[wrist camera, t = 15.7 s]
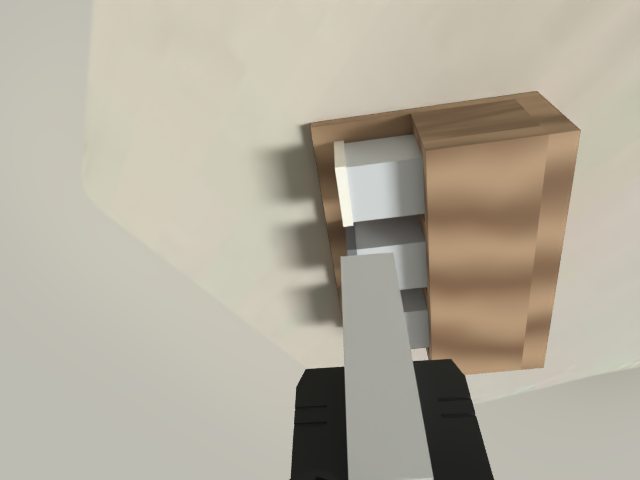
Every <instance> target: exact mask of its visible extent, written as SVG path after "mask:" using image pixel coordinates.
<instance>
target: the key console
mask: <svg viewBox="0 0 640 480" xmlns="http://www.w3.org/2000/svg"><path fill="white" fill-rule="evenodd" d="M310 129H311V134H312V140H313V146H314V152H315V158H316V164H317V170H318V176H319V182H320V188H321V194H322V200H323V206H324V212H325V218H326V224H327V230H328V236H329V242H330V248H331V254H332V260H333V266H334V272H335V278H336V283H337V289H338V295H339V301H340V307H341V313H342V319H343V312H342V284H341V256H348V255H347V246H346V230H345V227H343V221H342V214H341V207H340V200H339V193H338V186H337V180H336V173H335V160H334V141H341V140H344V143H351V142H358V141H365V140H373V139H380V138H388V137H395V136H402V135H410V134H414V136H415V138H416V141H417V144H418V146H419V149H420V151H421V154H422V157H423V179H424V208H425V214H417V216H418V219H419V222H420V226H421V229H422V233H423V236H424V239H425V243H426V266H427V287H422V291H423V295H424V299H425V303H426V307H427V311H428V325H429V347H426V350H427V355H428V359H429V360H440V359H452V360H453V362H454V363H455V364H456V365H457V367H458V368H459V369H460V370H461V372H462V373H463V374H464V375H468V374H479V373H490V372H501V371H512V370H523V369H534V368H544V361H545V355H546V349H547V342H548V336H549V330H550V323H551V317H552V311H553V304H554V298H555V291H556V285H557V279H558V272H559V266H560V260H561V253H562V247H563V240H564V234H565V228H566V221H567V215H568V209H569V202H570V196H571V190H572V183H573V177H574V170H575V164H576V158H577V151H578V145H579V139H580V132H581V130H580V129H579V128H578V127H577V126H575V125H574V124H573V123H572V122H571V121H570V120H569V119H568V118H567V117H565V116H564V115H563V114H562V113H561V112H560V111H559V110H558V109H557V108H555V107H554V106H553V105H552V104H551V103H550V102H549V101H548V100H546V99H545V98H544V97H543V96H542V95H541V94H540V93H539V92H538V91H535V92H528V93H521V94H514V95H507V96H500V97H492V98H485V99H478V100H471V101H464V102H457V103H450V104H442V105H435V106H428V107H421V108H414V109H407V110H400V111H392V112H385V113H378V114H371V115H364V116H357V117H350V118H343V119H335V120H328V121H321V122H314V123H311V125H310Z"/></svg>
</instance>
